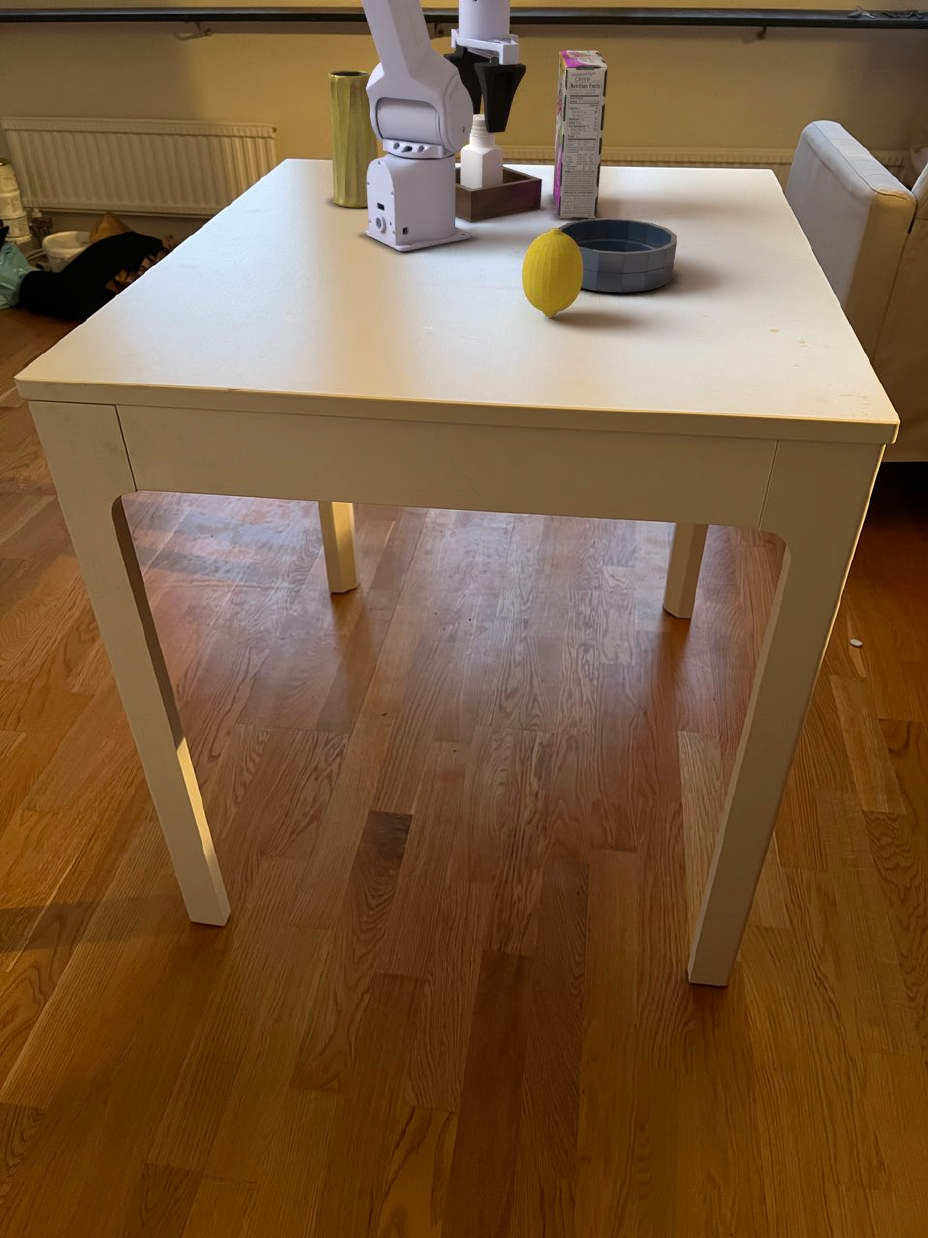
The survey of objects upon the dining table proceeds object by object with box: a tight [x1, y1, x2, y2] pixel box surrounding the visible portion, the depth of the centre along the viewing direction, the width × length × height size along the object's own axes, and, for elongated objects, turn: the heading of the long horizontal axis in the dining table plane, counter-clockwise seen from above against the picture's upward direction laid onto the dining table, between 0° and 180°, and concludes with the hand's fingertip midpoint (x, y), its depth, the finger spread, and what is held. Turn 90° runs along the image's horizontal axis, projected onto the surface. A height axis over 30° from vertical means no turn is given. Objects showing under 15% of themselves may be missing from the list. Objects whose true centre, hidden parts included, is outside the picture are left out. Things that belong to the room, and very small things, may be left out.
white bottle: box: [460, 113, 504, 189], centre depth 117 cm, size 4×4×10 cm
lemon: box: [521, 227, 583, 319], centre depth 87 cm, size 6×6×8 cm
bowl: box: [557, 217, 678, 293], centre depth 98 cm, size 12×12×4 cm
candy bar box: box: [552, 49, 609, 221], centre depth 115 cm, size 11×5×16 cm, turn 179°
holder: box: [455, 165, 543, 223], centre depth 119 cm, size 11×11×4 cm
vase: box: [327, 69, 379, 209], centre depth 117 cm, size 6×6×14 cm
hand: (482, 125), depth 115 cm, fingers open, 7 cm apart
